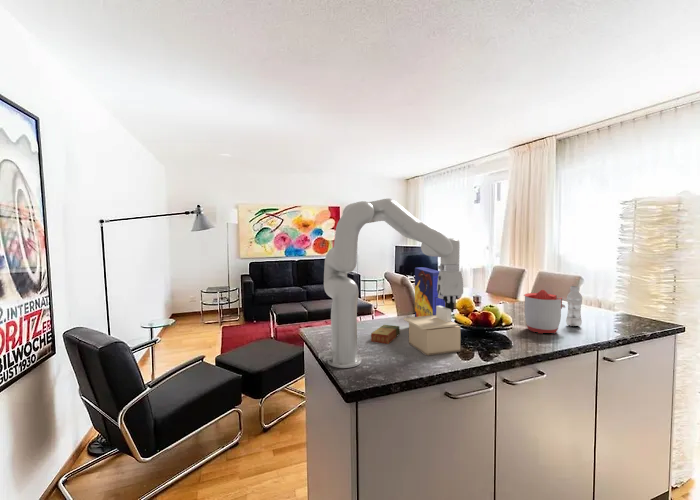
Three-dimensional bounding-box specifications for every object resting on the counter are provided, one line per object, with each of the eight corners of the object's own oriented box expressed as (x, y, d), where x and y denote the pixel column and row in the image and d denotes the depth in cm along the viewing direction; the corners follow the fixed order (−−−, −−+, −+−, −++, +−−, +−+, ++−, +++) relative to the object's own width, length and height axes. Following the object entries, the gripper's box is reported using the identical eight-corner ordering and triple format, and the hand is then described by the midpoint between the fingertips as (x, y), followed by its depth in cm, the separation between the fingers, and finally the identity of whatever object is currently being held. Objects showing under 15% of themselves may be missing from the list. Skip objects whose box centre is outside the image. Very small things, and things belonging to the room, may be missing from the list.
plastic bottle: (562, 325, 171) (563, 286, 170) (572, 324, 173) (573, 285, 172) (574, 329, 165) (575, 288, 164) (585, 327, 167) (586, 287, 166)
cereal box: (414, 326, 173) (414, 267, 171) (426, 325, 174) (426, 267, 172) (432, 339, 151) (432, 272, 150) (444, 338, 152) (445, 272, 151)
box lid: (422, 329, 130) (422, 314, 130) (404, 319, 145) (404, 306, 144) (457, 326, 135) (457, 311, 134) (436, 316, 149) (436, 303, 149)
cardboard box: (427, 355, 131) (427, 330, 131) (409, 343, 146) (409, 320, 145) (460, 351, 136) (460, 326, 135) (439, 340, 150) (439, 317, 150)
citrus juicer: (571, 336, 153) (572, 292, 152) (530, 335, 156) (531, 292, 155) (556, 327, 168) (557, 287, 167) (519, 326, 171) (519, 286, 170)
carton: (370, 342, 149) (370, 332, 149) (383, 332, 164) (383, 323, 164) (388, 344, 146) (388, 335, 145) (400, 334, 160) (400, 325, 160)
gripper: (439, 269, 136) (438, 315, 136) (470, 268, 140) (470, 312, 141) (429, 267, 143) (429, 311, 144) (459, 266, 147) (459, 308, 148)
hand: (449, 311), depth 142 cm, fingers closed
